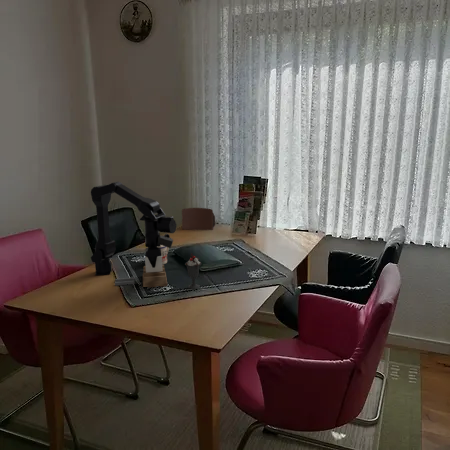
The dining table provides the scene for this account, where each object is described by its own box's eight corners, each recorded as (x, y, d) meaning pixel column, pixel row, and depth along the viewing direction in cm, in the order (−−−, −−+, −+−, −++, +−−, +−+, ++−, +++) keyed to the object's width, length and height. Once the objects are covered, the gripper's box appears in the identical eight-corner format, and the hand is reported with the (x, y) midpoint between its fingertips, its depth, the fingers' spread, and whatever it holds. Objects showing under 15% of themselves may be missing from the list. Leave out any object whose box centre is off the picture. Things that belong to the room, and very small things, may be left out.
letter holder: (213, 230, 267) (212, 208, 264) (182, 229, 270) (181, 207, 266) (215, 226, 277) (214, 205, 273) (185, 225, 279) (184, 204, 276)
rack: (143, 287, 175) (142, 278, 174) (142, 275, 189) (142, 266, 188) (167, 285, 177) (167, 276, 176) (165, 273, 191) (165, 264, 190)
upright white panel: (145, 272, 180) (145, 257, 179) (145, 270, 182) (145, 256, 181) (162, 271, 181) (162, 256, 180) (162, 269, 184) (161, 255, 182)
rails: (114, 285, 178) (114, 282, 177) (115, 281, 182) (115, 279, 182) (134, 284, 179) (134, 281, 179) (134, 280, 184) (134, 277, 183)
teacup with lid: (159, 266, 200) (157, 243, 197) (144, 263, 205) (143, 240, 202) (175, 259, 210) (174, 237, 207) (161, 257, 215) (160, 234, 212)
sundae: (189, 291, 171) (188, 255, 167) (183, 285, 177) (181, 251, 173) (204, 288, 174) (203, 252, 170) (197, 282, 180) (196, 248, 176)
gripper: (173, 235, 170) (174, 272, 174) (169, 224, 188) (171, 258, 192) (144, 237, 168) (146, 274, 172) (144, 226, 186) (146, 260, 190)
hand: (153, 266), depth 181 cm, fingers closed on upright white panel, 2 cm apart
